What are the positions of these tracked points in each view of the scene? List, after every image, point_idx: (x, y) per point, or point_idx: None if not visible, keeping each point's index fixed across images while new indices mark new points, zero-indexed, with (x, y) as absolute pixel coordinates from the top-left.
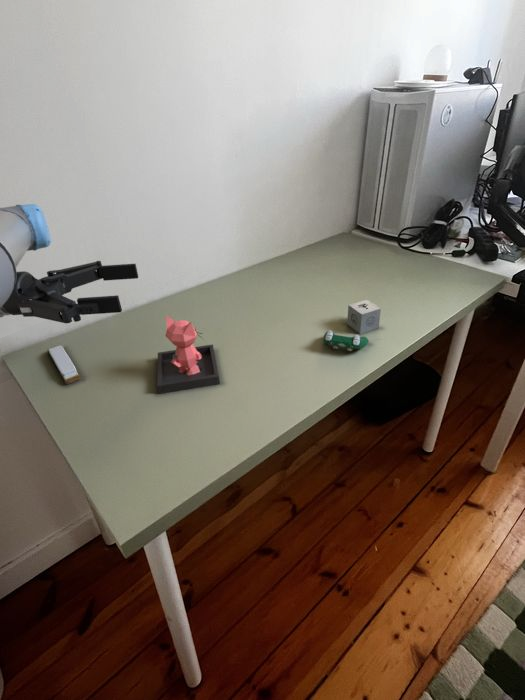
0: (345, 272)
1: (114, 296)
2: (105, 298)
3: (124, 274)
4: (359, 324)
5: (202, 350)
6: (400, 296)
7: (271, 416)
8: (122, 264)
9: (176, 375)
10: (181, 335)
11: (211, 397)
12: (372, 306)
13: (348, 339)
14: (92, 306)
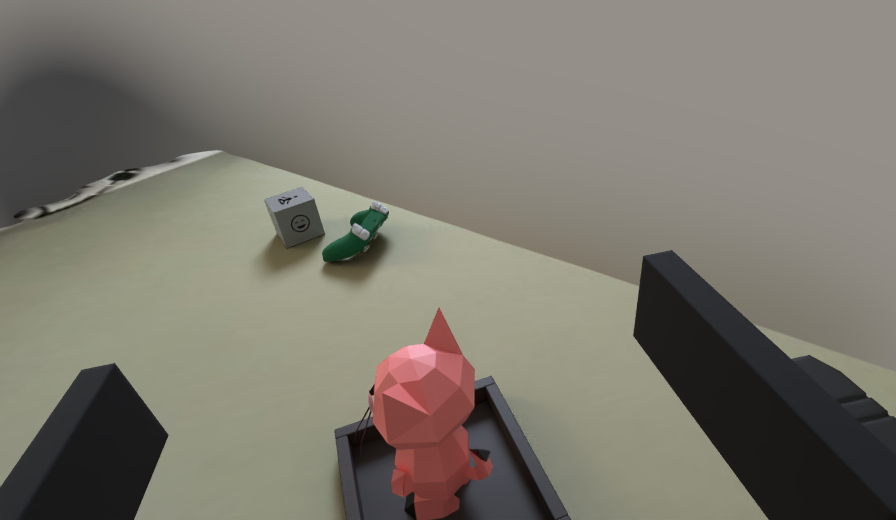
0: (70, 269)
1: (667, 263)
2: (719, 296)
3: (108, 499)
4: (316, 220)
5: (352, 459)
6: (221, 209)
7: (573, 293)
8: (19, 464)
9: (476, 513)
10: (464, 363)
11: (548, 397)
12: (291, 193)
13: (375, 214)
14: (836, 373)
